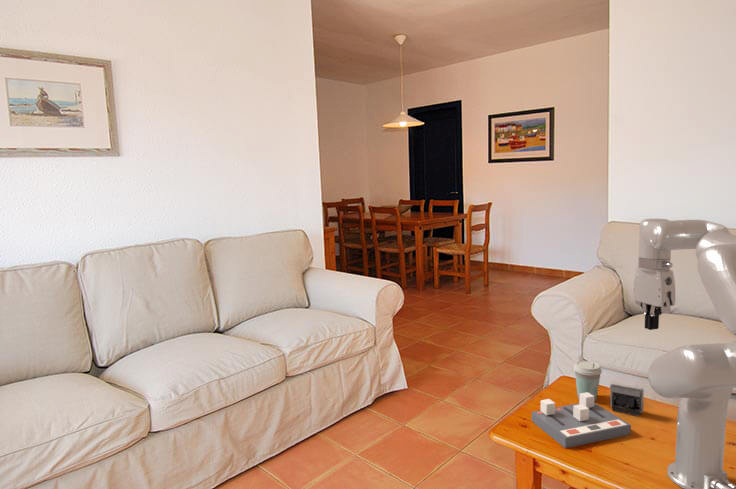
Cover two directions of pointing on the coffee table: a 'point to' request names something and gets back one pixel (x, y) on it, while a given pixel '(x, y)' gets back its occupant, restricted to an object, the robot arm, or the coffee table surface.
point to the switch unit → (581, 425)
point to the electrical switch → (626, 399)
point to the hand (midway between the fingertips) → (651, 328)
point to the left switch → (547, 407)
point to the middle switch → (581, 412)
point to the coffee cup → (587, 377)
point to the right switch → (586, 399)
